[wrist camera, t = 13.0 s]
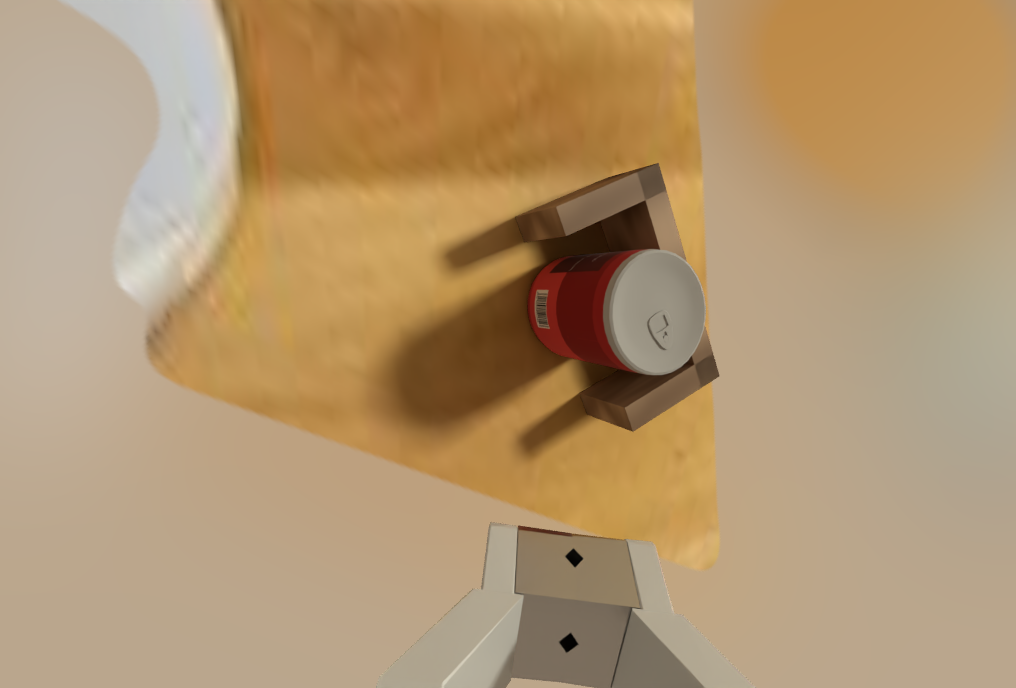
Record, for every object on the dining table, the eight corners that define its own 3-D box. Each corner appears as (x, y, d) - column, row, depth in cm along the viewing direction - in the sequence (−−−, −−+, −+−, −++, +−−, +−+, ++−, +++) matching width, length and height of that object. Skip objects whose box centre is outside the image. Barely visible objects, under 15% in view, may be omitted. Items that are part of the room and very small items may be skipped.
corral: (515, 216, 42) (556, 206, 37) (608, 177, 45) (658, 163, 40) (587, 414, 46) (633, 431, 41) (667, 366, 50) (719, 376, 44)
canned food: (565, 376, 45) (657, 401, 35) (503, 303, 42) (585, 309, 32) (624, 309, 47) (726, 316, 37) (569, 236, 44) (664, 222, 34)
